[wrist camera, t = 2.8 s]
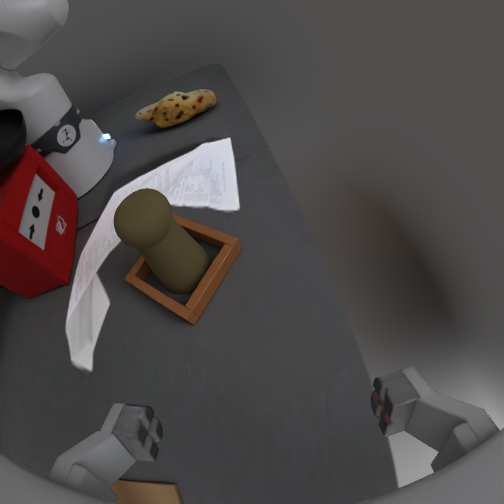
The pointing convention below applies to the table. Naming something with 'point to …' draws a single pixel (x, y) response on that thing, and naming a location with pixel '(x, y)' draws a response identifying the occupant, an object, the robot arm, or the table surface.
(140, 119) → the toy
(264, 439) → the table surface
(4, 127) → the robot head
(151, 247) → the pepper shaker
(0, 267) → the fire alarm
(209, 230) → the frame
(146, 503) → the wooden cutting board
